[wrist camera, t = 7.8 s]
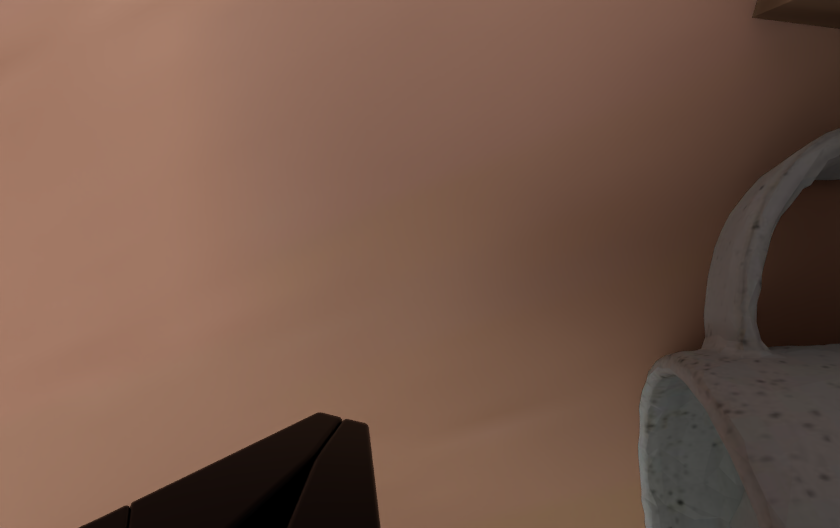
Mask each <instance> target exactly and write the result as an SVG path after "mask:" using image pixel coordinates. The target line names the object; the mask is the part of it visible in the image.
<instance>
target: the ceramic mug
mask: <svg viewBox="0 0 840 528" xmlns="http://www.w3.org/2000/svg"><path fill="white" fill-rule="evenodd" d="M814 180H840V128H838V129H836V130H834V131H830V132H827V133H825V134H824V135H822V136H820V137H819V138H817V139H815V140H814V141H812V142H810V143H809V144H807V145H806V146H804V147H803V148H801V149H800V150H798V151H797V152H795V153H794V154H792V155H791V156H790V157H788V158H787V159H786V160H784V161H783V162H781V163H780V164H779V165H777V166H776V167H774V168H773V169H771V170H770V171H768V172H767V173H765V174H764V175H762V176H761V177H760V178H759V179H758V180H757V181H756V182H755V183H754V185H753V186H752V187H751V188H750V189H749V190H748V191H747V192H746V193H745V195H744V196H743V197H742V199H741V200H740V201H739V202H738V204H737V205H736V206H735V208H734V209H733V210H732V212H731V213H730V214H729V216H728V218H727V220H726V222H725V224H724V226H723V228H722V230H721V233H720V235H719V238H718V240H717V243H716V245H715V248H714V252H713V257H712V261H711V265H710V269H709V274H708V280H707V289H706V298H705V308H704V327H705V339H704V342H703V345H702V348H701V349H699V350H696V351H681V352H677V353H673V354H669V355H665V356H663V357H662V358H660V359H659V360H657V361H656V362H655V363H654V365H653V366H652V368H651V369H650V370H649V371H648V376H647V381H646V383H645V386H644V388H643V390H642V394H641V399H640V405H639V413H640V435H639V443H638V457H639V468H640V479H641V490H642V500H641V501H642V505H643V509H644V513H645V527H646V528H840V344H827V345H812V346H774V347H767V346H766V345H765V344H764V343H763V342H762V341H761V338H760V334H759V330H758V326H757V323H756V320H757V301H758V298H759V294H760V291H761V286H762V272H763V268H764V264H765V260H766V256H767V252H768V248H769V244H770V240H771V237H772V233H773V231H774V229H775V227H776V225H777V223H778V221H779V219H780V217H781V215H782V214H783V213H784V212H785V211H786V210H787V209H788V208H789V207H790V206H791V204H792V203H793V202H794V200H795V199H796V198H797V196H798V195H799V194H800V192H801V191H802V189H804V188H806V187H808V186H810V185H811V184H812V183H813V181H814Z"/></svg>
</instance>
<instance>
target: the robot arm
mask: <svg viewBox="0 0 840 528" xmlns="http://www.w3.org/2000/svg"><path fill="white" fill-rule="evenodd" d="M79 528H380V519H379V511H378V502H377V494H376V485H375V477H374V468H373V460H372V451H371V443H370V434H369V427H368V425H367V424H365V423H362V422H358V421H353V420H349V419H345V420H343V421H342V419H341V418H340V417H337V416H333V415H329V414H325V413H321V412H320V413H316V414H314V415H312V416H310V417H308V418H305V419H303V420H301V421H299V422H297V423H295V424H293V425H291V426H289V427H287V428H285V429H283V430H281V431H279V432H277V433H275V434H272V435H270V436H268V437H266V438H264V439H262V440H260V441H258V442H256V443H254V444H252V445H250V446H248V447H246V448H244V449H241V450H239V451H237V452H235V453H233V454H231V455H229V456H227V457H225V458H223V459H221V460H219V461H217V462H215V463H213V464H211V465H208V466H206V467H204V468H202V469H200V470H198V471H196V472H194V473H192V474H190V475H188V476H186V477H184V478H182V479H180V480H178V481H175V482H173V483H171V484H169V485H167V486H165V487H163V488H161V489H159V490H157V491H155V492H153V493H151V494H149V495H147V496H144V497H142V498H140V499H138V500H136V501H134V502H132V503H131V506H130V507H129V506H123V507H121V508H119V509H117V510H115V511H113V512H111V513H109V514H107V515H105V516H103V517H101V518H99V519H96V520H94V521H92V522H90V523H88V524H86V525H83V526H81V527H79Z"/></svg>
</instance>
